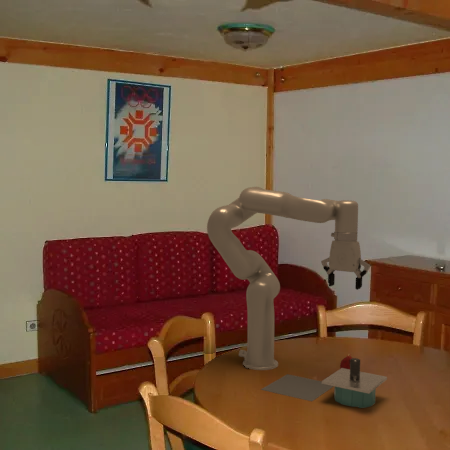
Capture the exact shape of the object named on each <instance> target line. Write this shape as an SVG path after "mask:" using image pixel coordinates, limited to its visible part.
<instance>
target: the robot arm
mask: <svg viewBox="0 0 450 450" xmlns="http://www.w3.org/2000/svg"><path fill="white" fill-rule="evenodd" d="M256 214H265V215H270V216H276V217H282V218H285V219H292V220H296V221H303V222H309V223H315V224H324V223H325V224H326V223H328V222H329V221H334V231H333V232H331V234H330V236H331V237H332V238H333V240H332V241H331V245H330V249H329V257H327V258H325V259H323V260H321V263H320V264H321V265H322V267H323V270H324V271H325V272H326V275H327V276H328V277H327V284H328V286H329V287H332V286H335V281H336V280H335V279H336V278H335V277H336V275H335V273H334V272H335V271H337V272H348V273H354V274H355V276H356V277H355V287H354V288H355V290H358V291H359V289H362V287H363V278H364V276H366V274H368V271H369V270H370V268H371V265H370V264H369V263H368V262H366V261H365V260H363V259H362V253H361V246H360V241H358V229H359V227H358V226H359V225H358V224H359V223H358V222H359V204H358V202H357V201H356V200H355V201H354V200H349V199H347V200H344V199H343V200H334V199H328V198H323V199H319V200H317V199H313V198H312V199H309V198H303V197H299V196H295V195H292V194H290V193H288V192H286V191H279V190H270V189H265V188H263V187H260V186H252V187H247V188H244V189H243V190H242V191H241V192H240V194H239V197H238V198H237V199H235V200H234V201H232V202H231V203H229V204H226V205H221V206H219V207H217V208H215V209H214V210H213V211H212V213H211V214H210V215H209V217H208V220H207V223H206V231H207V235H208V239H209V240H210V242H211V243H212V245H213V246H214V248H215V249H216V250H217V252H218V253H219V254H220V256H221V258H222V259H223V261H224V262H225V263H226V265H227V266H228V268H229V269H230V271H231V272H232V274H233V276H235V278H238V279H239V280H241V281H242V280H247V281H248V282H249V284H248V286H247V288H246V294H245V296H246V307H247V309H246V310H247V350H245V349H240V350H239V351H238V357H241V358H243V362H242V366H243V365H244V366H245V367H244V366H243V367H244V368H246V369H248V368H249V370H255V371H269V370H273V369H277V368H278V366H279V362H278V361H277V360H276V359H275V306H274V301H275V298H276V297H277V296H278V295H279V294H280V290H281V284H280V281H279V279H278V277H277V276H276V275H275V273H274V272H273V270H272V269H271V267H270V266H269V264H268V263H267V262H266V261H265V259H264V258H263V257H262V256H261V254H259V253H258V252H257V251H255V250H252V249H249V250H248V249H246V248H245V247H244V245H243V243H242V242H241V240H240V239H239V238H238V237H237V236H236V235H235V234H234V233H233V232H232V229H233V228H236V227H238V226H240V225H242V224H243V223H245V222H246V221H247V220H248V219H249V220H250V218H252V217H253V216H254V215H256ZM362 266H363V270H361V269H362V268H361V267H362Z"/></svg>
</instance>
